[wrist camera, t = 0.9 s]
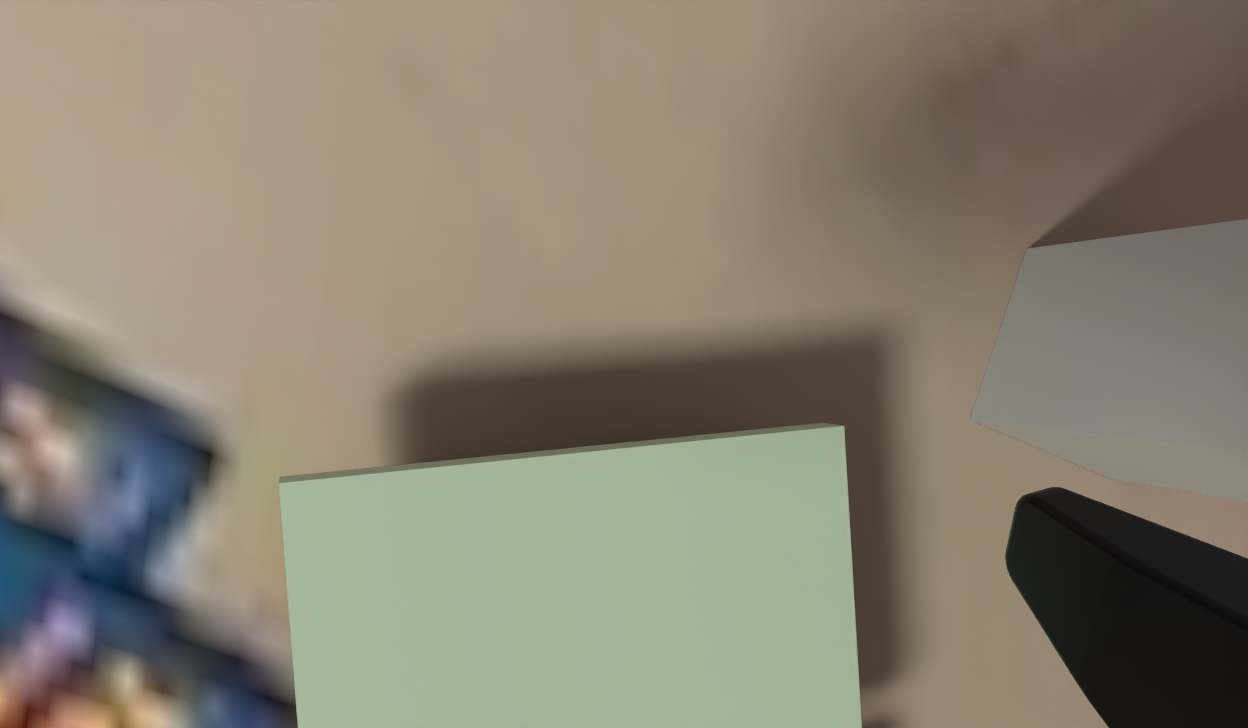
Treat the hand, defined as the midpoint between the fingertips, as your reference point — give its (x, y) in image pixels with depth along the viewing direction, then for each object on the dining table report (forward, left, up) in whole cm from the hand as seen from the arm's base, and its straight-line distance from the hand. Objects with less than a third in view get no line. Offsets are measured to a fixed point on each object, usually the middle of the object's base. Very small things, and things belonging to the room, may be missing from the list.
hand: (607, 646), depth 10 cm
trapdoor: (-4, -3, -13) cm, 14 cm away
